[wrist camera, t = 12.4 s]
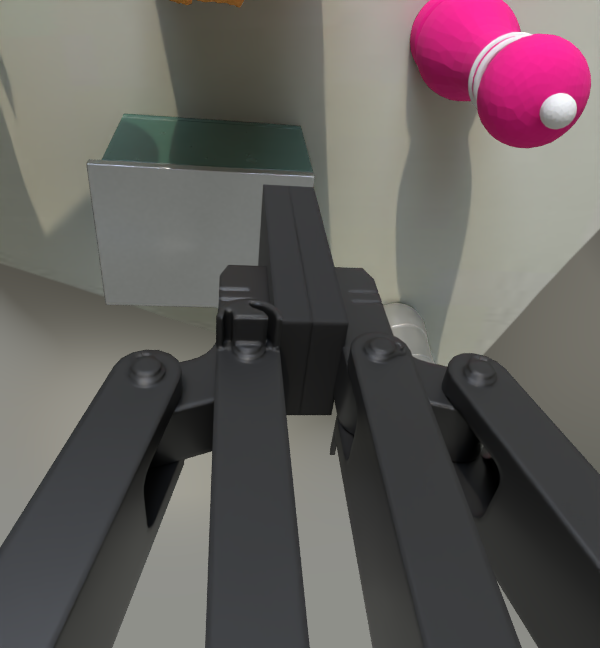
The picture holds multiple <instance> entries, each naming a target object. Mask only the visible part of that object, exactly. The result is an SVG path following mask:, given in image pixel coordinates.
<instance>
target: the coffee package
mask: <svg viewBox="0 0 600 648" xmlns="http://www.w3.org/2000/svg"><path fill="white" fill-rule="evenodd" d="M170 1H173V2H176V3H178V4H180V3H182V4H185V5H189V4H192V0H170ZM197 1H202V2H217V3H227V4H229V5H235V6H236V7H238V8H240V7H241V5H242V3H243V2H244V0H197Z"/></svg>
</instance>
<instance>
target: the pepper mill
mask: <svg viewBox="0 0 600 648" xmlns="http://www.w3.org/2000/svg"><path fill="white" fill-rule="evenodd" d="M410 47H411V53H412V56H413V59H414V61H415V62H416V64H417V65H418V69H419V72H420V74H421V77H422V79H423V81H424V82H425V83H426V84H427V86H428V87H429V88H430V89H431V90H433V91H434V92H435V93H437V94H438V95H440V96H442V97H445V98H447V99H449V100H454V101H472V104H473V105H474V106H475V108H476V109H477V110H478V114H479V117H480V120H481V122H482V124H483V125H484V127H485V128H486V130H487V131H488V132H489V134H490V135H492V136H493V137H494V138H495V139H497V140H498V141H500V142H502V143H504V144H506V145H509V146H513V147H517V148H532V147H538V146H543V145H545V144H548V143H550V142H552V141H554V140H556V139H557V138H559V137H560V136H562V135H563V134H564V133H565V132H567V131H568V130H569V129H570V128H571V127H572V126H573V125H574V124H575V123H576V121H577V120H578V118H579V117H580V116H581V114H582V112H583V110H584V108H585V106H586V103H587V101H588V98H589V94H590V88H591V75H590V71H589V67H588V64H587V61H586V59H585V57H584V56H583V55H582V53H581V52H580V50H579V49H578V48H576V47H575V46H574V45H573V44H572V43H571V42H569V41H567V40H565V39H563V38H561V37H559V36H556V35H548V34H534V35H532V34H529V33H525V32H521V31H520V26H519V24H518V21H517V19H516V17H515V15H514V13H513V11H512V10H511V8H510V7H509V6H508V5H507V4H506V3H505V2H503V1H502V0H430V1H429V2H427V3H426V5H425V6H424V7H423V8H422V9H421V10H420V12H419V14H418V15H417V17H416V19H415V21H414V24H413V26H412V30H411V37H410Z"/></svg>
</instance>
